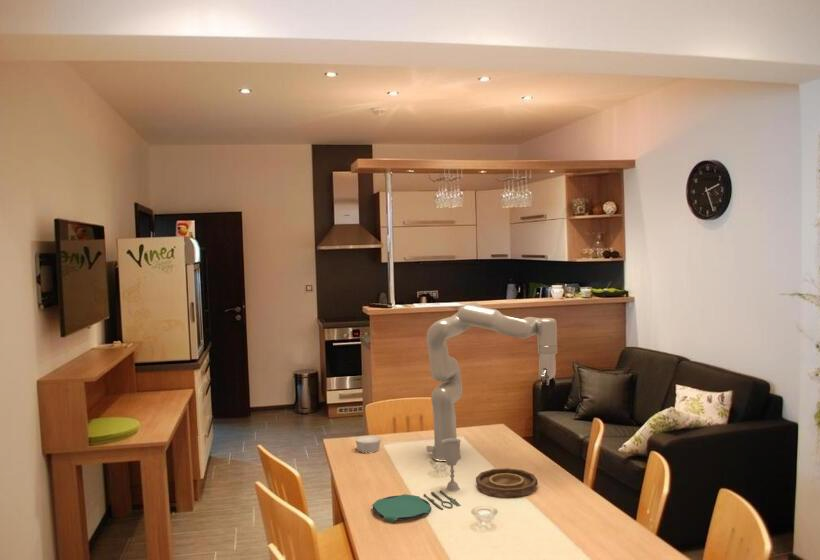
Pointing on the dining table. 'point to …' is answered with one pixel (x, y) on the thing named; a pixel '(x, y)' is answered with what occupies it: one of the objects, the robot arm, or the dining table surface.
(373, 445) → the ramekin
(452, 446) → the chalice
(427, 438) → the dining table surface
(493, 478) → the tray
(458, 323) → the robot arm
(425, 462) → the dining table surface
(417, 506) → the cutlery set
